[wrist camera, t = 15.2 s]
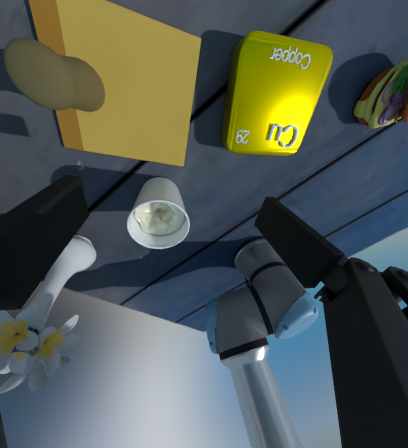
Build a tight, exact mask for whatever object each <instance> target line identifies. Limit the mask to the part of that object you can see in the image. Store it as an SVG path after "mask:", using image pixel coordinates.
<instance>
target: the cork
mask: <svg viewBox="0 0 408 448" xmlns="http://www.w3.org/2000/svg"><path fill="white" fill-rule="evenodd" d="M3 59H4V65H5V68H6V71H7V73H8V75H9V77H10V79H11V80H12V82H13V83H14V85H15V86H16V87H17V89H18V90H19V91H20V92H21V93H22V94H24V95H25V96H26V97H27V98H28V99H30V100H31V101H33V102H34V103H36V104H37V105H40V106H42V107H45V108H47V109H50V110H64V109H68V108H70V107H72V108H75V109H79V110H82V111H86V112H94V111H97V110H99V109H100V108H101V107H102V106H103V103H104V101H105V89H104V85H103V83H102V80H101V78H100V76H99V75H98V74H97V72H96V71H95V70H94V68H92V67H91V66H90V65H89V64H88V63H87V62H85V61H83V60H81V59H79V58H76V57H70V56H62V55H58V54H57V53H56V52H55V51H54V50H52V49H51V48H50V47H48V46H46V45H44V44H42V43H40V42H38V41H36V40H34V39H28V38H17V39H14V40H11V41H10V42H9V43H8V44H7V45H6V46H5V49H4V54H3Z"/></svg>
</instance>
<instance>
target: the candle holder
mask: <svg viewBox="0 0 408 448" xmlns="http://www.w3.org/2000/svg"><path fill="white" fill-rule="evenodd" d="M189 227H190V222H189V218H188V215H187V213H186V210H185V207H184V204H183V201H182V198H181V195H180V192H179V189H178V187H177V186H176V184H175V183H174V182H172V181H171V180H169V179H167V178H163V177H155V178H151V179H149V180H148V181H146V182H145V183H144V185H143V186H142V188H141V190H140V192H139V194H138V197H137V199H136V201H135V204H134V206H133V208H132V210H131V212H130V214H129V216H128V219H127V229H128V232H129V234H130V236H131V237H132V238H133V239H134V240H135V241H136V242H137V243H139V244H141V245H143V246H145V247H148V248H153V249H165V248H169V247H172V246H175V245H177V244H178V243H180V242H181V241H182V240H183V239H184V238H185V237H186V235H187V233H188V231H189Z"/></svg>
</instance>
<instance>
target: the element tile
mask: <svg viewBox="0 0 408 448" xmlns="http://www.w3.org/2000/svg"><path fill="white" fill-rule="evenodd" d="M332 61H333V53H332V50H331V49H330V47H328V46H326V45H322V44H317V43H313V42H308V41H304V40H299V39H295V38H290V37H286V36H281V35H277V34H272V33H268V32H263V31H253V32H251V33H249V34H248V35H246V36H245V37H244V38H243V39H242V40H240V41H239V42H238V43H237V45H236V46H235V48H234V50H233V52H232V56H231V63H230V71H229V78H228V86H227V94H226V102H225V110H224V118H223V126H222V133H221V141H222V144H223V146H224V147H225V148H227V149H228V150H229V151H231V152H233V153H238V154H261V155H284V156H287V155H291V154H294V153H295V152H296V151H297V150H298V148H299V147H300V145H301V143H302V140H303V138H304V135H305V132H306V130H307V127H308V125H309V122H310V120H311V117H312V115H313V112H314V109H315V107H316V104H317V102H318V99H319V97H320V94H321V92H322V89H323V86H324V84H325V81H326V79H327V76H328V74H329V71H330V69H331V65H332Z"/></svg>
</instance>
